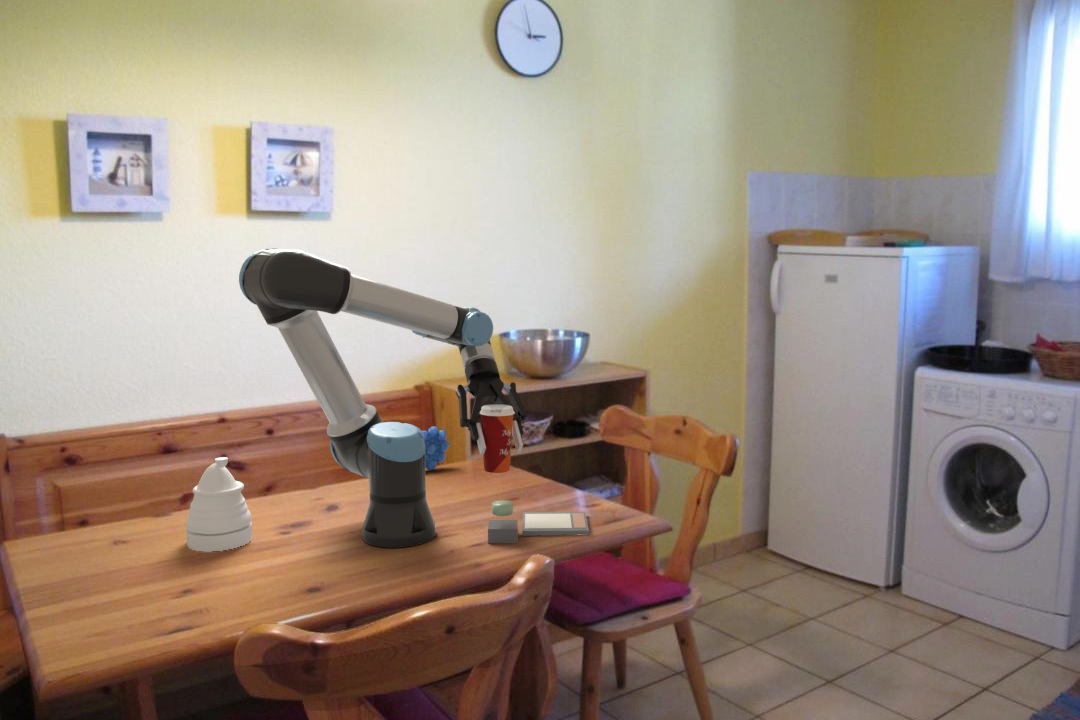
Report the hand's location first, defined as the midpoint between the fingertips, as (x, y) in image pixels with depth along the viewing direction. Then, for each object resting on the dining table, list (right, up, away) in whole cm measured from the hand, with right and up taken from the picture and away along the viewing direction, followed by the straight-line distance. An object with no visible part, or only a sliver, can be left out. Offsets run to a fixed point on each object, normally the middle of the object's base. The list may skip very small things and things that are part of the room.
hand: (501, 450), depth 194 cm
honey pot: (-58, -19, -6) cm, 62 cm away
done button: (0, -12, -6) cm, 14 cm away
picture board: (+11, -17, +3) cm, 20 cm away
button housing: (+1, -18, -5) cm, 19 cm away
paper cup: (-1, -5, +4) cm, 6 cm away
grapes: (-22, -11, +51) cm, 56 cm away
